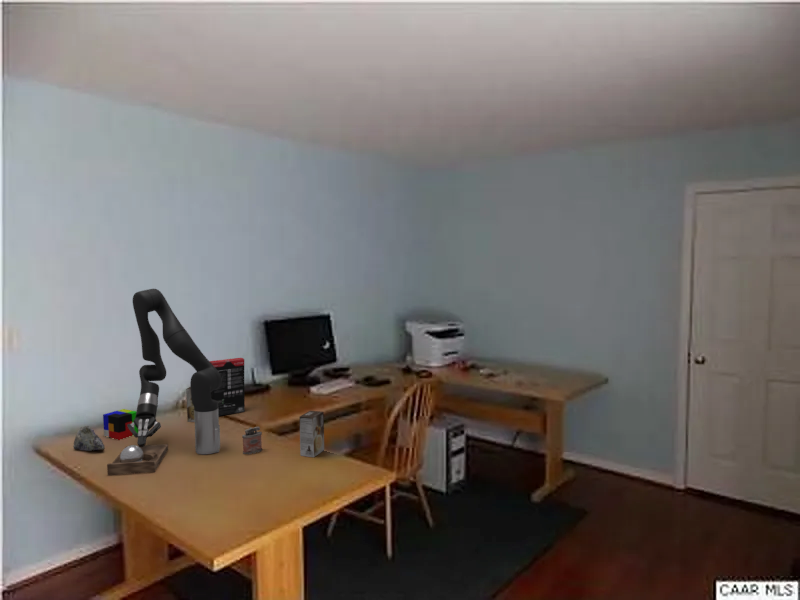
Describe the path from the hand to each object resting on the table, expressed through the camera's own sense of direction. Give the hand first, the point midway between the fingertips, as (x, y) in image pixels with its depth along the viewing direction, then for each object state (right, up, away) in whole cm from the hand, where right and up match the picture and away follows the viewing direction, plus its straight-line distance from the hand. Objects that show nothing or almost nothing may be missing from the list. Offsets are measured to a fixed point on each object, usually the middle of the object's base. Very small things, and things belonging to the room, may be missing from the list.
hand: (141, 446), depth 226 cm
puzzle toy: (-22, -3, +30) cm, 37 cm away
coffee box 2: (+66, -5, +7) cm, 66 cm away
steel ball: (0, -2, -8) cm, 8 cm away
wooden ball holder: (+1, -5, -3) cm, 6 cm away
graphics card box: (+15, 0, +63) cm, 65 cm away
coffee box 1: (+5, -1, +52) cm, 52 cm away
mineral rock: (-26, -5, +10) cm, 28 cm away
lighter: (+41, -5, +8) cm, 42 cm away
